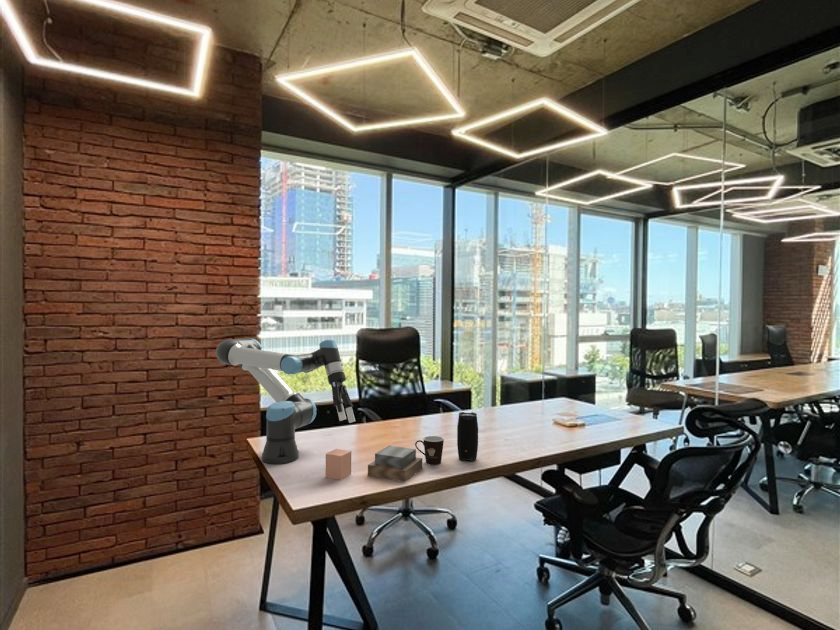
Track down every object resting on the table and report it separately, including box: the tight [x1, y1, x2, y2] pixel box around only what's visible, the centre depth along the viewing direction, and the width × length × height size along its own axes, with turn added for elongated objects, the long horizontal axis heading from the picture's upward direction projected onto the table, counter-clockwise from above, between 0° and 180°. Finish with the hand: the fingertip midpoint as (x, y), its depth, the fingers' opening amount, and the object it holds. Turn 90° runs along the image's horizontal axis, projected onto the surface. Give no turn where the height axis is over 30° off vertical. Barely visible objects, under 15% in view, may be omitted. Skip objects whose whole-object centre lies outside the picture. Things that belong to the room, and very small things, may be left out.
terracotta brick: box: [325, 448, 352, 481], centre depth 173 cm, size 7×7×9 cm
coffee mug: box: [414, 435, 445, 466], centre depth 190 cm, size 12×9×10 cm
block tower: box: [367, 445, 423, 482], centre depth 178 cm, size 16×16×8 cm
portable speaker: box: [456, 411, 479, 462], centre depth 194 cm, size 9×9×20 cm
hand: (347, 421), depth 190 cm, fingers open, 13 cm apart
